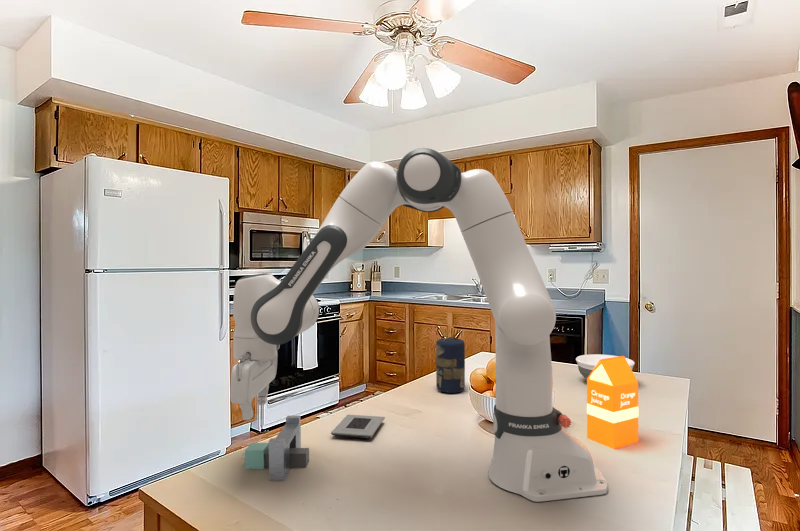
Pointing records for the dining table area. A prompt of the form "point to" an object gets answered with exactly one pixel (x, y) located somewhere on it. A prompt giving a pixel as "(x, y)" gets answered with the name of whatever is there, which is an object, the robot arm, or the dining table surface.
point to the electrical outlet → (358, 426)
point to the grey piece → (284, 448)
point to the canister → (450, 365)
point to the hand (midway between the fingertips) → (255, 411)
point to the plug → (259, 456)
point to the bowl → (594, 363)
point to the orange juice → (612, 403)
